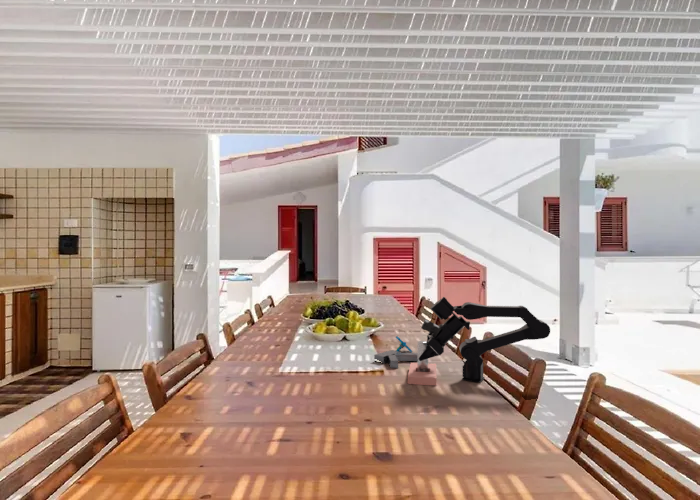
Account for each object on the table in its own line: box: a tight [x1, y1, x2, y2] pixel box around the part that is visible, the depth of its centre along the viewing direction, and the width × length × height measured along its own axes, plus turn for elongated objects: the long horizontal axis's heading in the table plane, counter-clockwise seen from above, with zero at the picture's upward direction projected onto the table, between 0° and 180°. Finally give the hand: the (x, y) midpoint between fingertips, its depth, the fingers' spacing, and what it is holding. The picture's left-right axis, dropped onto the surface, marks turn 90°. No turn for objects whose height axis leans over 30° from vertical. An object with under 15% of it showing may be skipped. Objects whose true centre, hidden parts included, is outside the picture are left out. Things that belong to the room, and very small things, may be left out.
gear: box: [395, 335, 413, 353], centre depth 207 cm, size 11×6×10 cm
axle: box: [416, 340, 429, 372], centre depth 167 cm, size 4×4×13 cm
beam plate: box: [407, 362, 437, 386], centre depth 167 cm, size 20×10×2 cm, turn 169°
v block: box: [373, 349, 417, 369], centre depth 189 cm, size 13×18×3 cm
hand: (419, 356), depth 168 cm, fingers open, 9 cm apart
